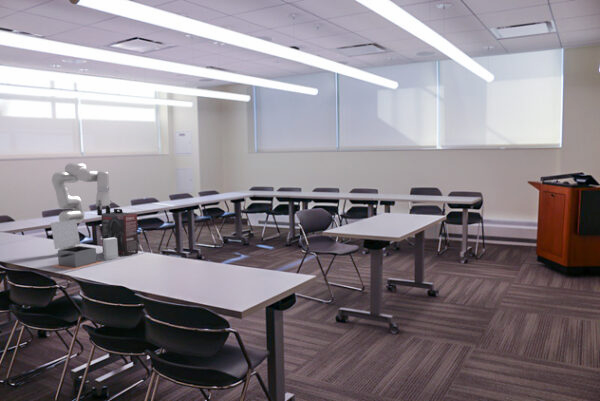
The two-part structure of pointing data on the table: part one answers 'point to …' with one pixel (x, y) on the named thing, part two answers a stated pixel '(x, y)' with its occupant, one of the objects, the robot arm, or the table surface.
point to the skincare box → (110, 248)
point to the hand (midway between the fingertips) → (103, 214)
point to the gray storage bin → (77, 256)
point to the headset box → (121, 230)
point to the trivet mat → (74, 268)
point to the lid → (65, 233)
